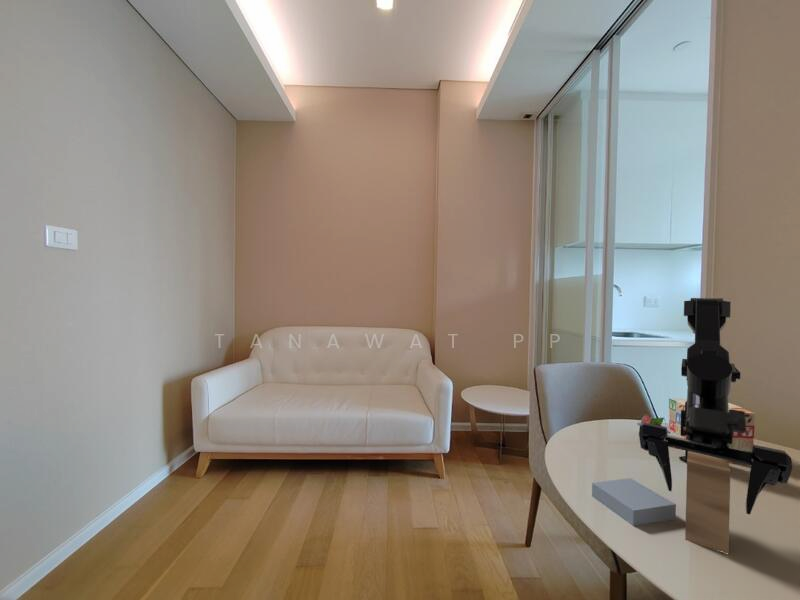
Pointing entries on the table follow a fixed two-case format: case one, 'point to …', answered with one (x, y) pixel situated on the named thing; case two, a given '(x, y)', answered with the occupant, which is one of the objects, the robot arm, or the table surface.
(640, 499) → the slate base block
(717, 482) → the walnut block
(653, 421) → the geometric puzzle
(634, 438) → the table surface
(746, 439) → the stack of blocks
